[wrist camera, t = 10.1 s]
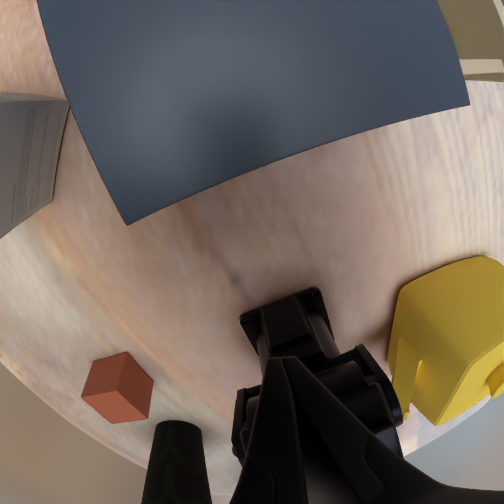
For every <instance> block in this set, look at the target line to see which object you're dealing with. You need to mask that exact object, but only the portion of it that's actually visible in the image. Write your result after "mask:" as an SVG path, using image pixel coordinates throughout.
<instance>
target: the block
mask: <svg viewBox="0 0 504 504" xmlns="http://www.w3.org/2000/svg"><path fill="white" fill-rule="evenodd" d="M152 388H153V380H152V379H151V378H150V377H149V376H148V375H147V374H146V373H145V372H144V371H143V369H142V368H141V367H140V366H139V365H138V364H137V363H136V362H135V361H134V359H133V358H132V357H131V356H130V355H129V354H128V353H127V352H125V353H122V354H118V355H115V356H111V357H108V358H104V359H101V360H97V361H94V362H93V363H92V366H91V369H90V372H89V375H88V377H87V380H86V383H85V386H84V389H83V392H82V395H81V398H82V399H83V400H84V401H85V402H86V403H88V404H89V405H90V406H91V407H92V408H93V409H95V410H96V411H97V412H98V413H99V414H100V415H102V416H103V417H104V418H105V419H107V420H108V421H109V422H110V423H112V424H115V423H123V422H131V421H138V420H144V419H148V416H149V409H150V402H151V395H152Z"/></svg>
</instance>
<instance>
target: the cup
mask: <svg viewBox="0 0 504 504" xmlns="http://www.w3.org/2000/svg"><path fill="white" fill-rule="evenodd" d="M141 504H212V500H211V494H210V488H209V482H208V476H207V470H206V463H205V456H204V449H203V442H202V434H201V430H200V429H199V428H198V427H197V426H195V425H193V424H190V423H187V422H183V421H164V422H161V423H159V424H158V425H157V426H156V429H155V434H154V439H153V444H152V449H151V454H150V459H149V464H148V469H147V474H146V480H145V485H144V491H143V497H142V503H141Z"/></svg>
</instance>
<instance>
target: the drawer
mask: <svg viewBox="0 0 504 504" xmlns="http://www.w3.org/2000/svg"><path fill="white" fill-rule="evenodd" d="M437 2H438V4H439V7H440V9H441V11H442V14H443V16H444V18H445V21H446V23H447V26H448V29H449V31H450V34H451V37H452V40H453V43H454V45H455V48H456V52H457V55H458V58H459V61H460V65H461V68H462V72H463V75H464V79H465V80H473V81H494V82H504V0H437Z"/></svg>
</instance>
